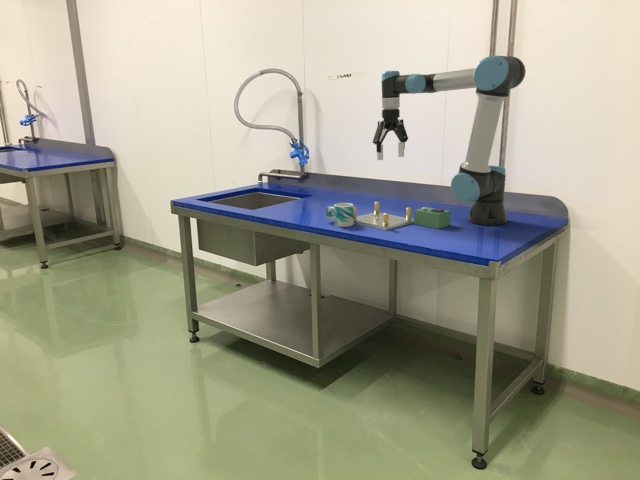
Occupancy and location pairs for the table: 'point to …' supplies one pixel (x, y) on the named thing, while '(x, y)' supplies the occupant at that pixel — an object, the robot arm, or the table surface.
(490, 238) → the table surface
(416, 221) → the green control box
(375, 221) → the chassis
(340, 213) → the mug
